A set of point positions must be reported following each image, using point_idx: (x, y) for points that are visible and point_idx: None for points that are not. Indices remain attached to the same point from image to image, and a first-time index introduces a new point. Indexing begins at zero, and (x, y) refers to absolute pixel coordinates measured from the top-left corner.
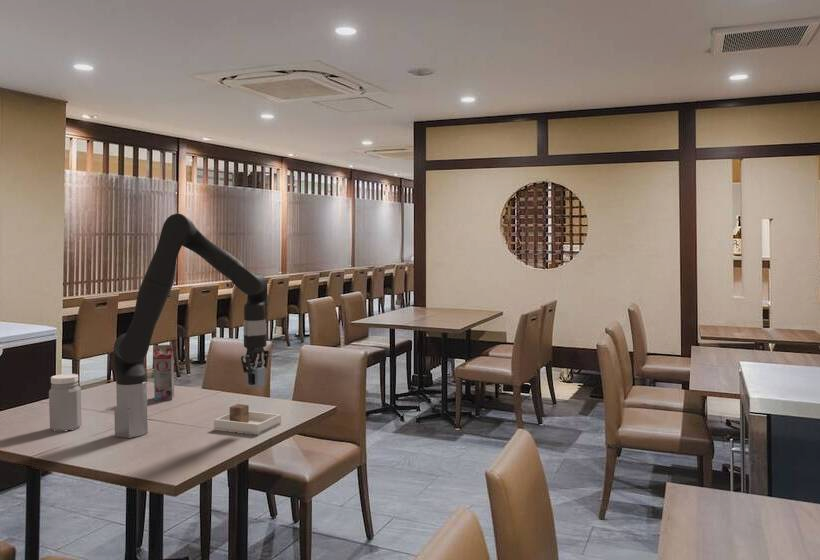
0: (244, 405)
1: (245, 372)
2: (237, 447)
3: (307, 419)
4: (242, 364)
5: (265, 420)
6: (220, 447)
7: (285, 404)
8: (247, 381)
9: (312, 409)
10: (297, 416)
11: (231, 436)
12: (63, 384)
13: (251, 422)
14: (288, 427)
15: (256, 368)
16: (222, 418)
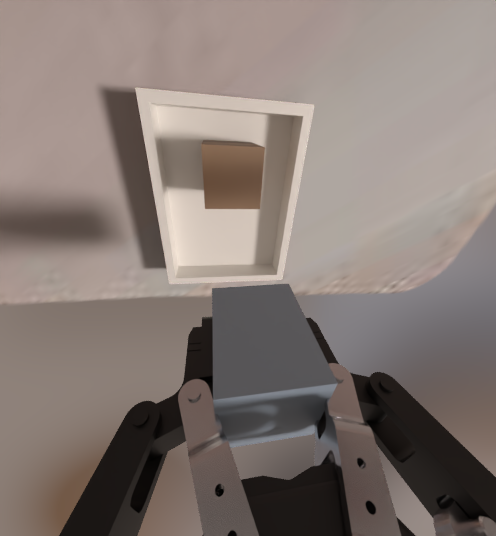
0: (249, 197)
1: (140, 412)
2: (64, 277)
3: (325, 291)
4: (62, 533)
5: (214, 277)
6: (27, 242)
7: (488, 165)
8: (213, 314)
9: (412, 261)
10: (349, 261)
11: (125, 209)
12: None
13: None
14: None
15: (251, 431)
16: (188, 106)
